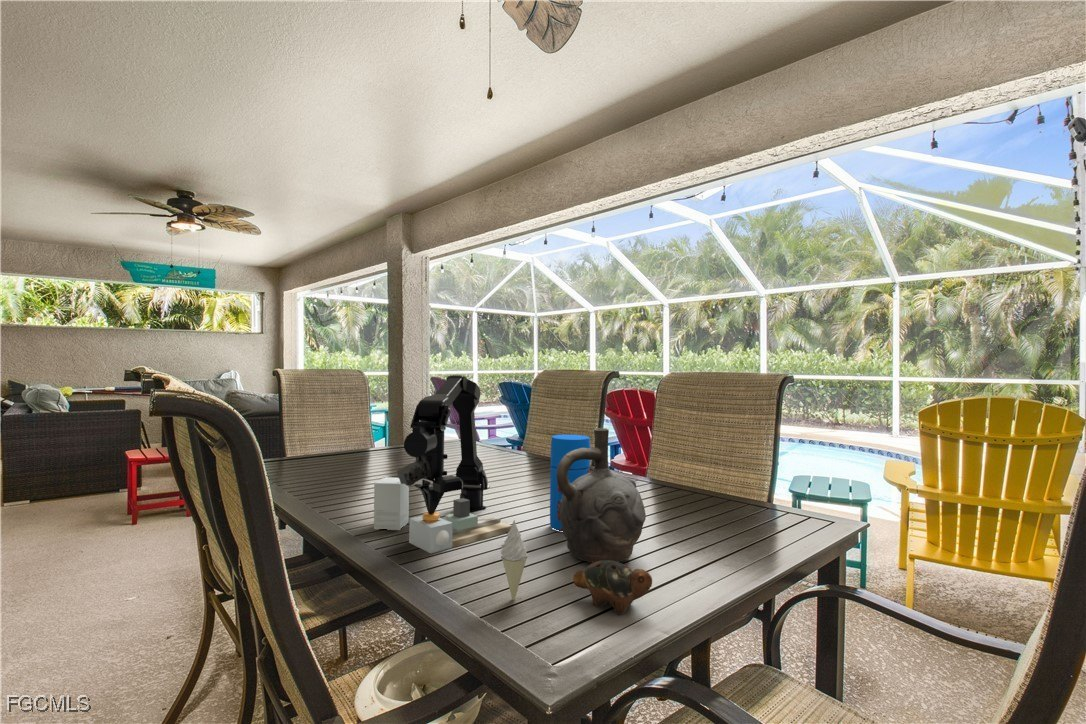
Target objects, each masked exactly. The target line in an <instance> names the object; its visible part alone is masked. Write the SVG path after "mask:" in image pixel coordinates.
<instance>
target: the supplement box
mask: <svg viewBox="0 0 1086 724" xmlns="http://www.w3.org/2000/svg"><path fill="white" fill-rule="evenodd" d="M373 485H374V486H373V487H374V488H373V491H374V492H373V499H374V500H373V502H374V503H373V529H374V530H379V529H387V530H386V531H401V530H402V529H403V528H404V527H405V526H406V525H408V524H409V523H410V518H409V512H410V511H409V510H410V509H409V508H410V507H409V505H410V504H409V501H410V500H409V499H410V491H409V488H410V486H407V485H406V484H401V483H400V480H399V477H389V476H388V477H387V476H385V477H383V478H381V479H380V480H377V481H376V482H374V483H373ZM407 523H408V524H407ZM403 526H404V527H403ZM402 527H403V528H402ZM401 528H402V529H401Z"/></svg>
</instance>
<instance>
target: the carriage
mask: <svg viewBox="0 0 1086 724" xmlns="http://www.w3.org/2000/svg"><path fill="white" fill-rule="evenodd" d="M444 519H445V520H447V521H449V522H452V523H453V529H456V530H458V531H459V530H463V529H467V528H471V527H475V526H478V520H479V516H478V515H477V514H475V513H474V514H473V513H471V512H470V500H467V499H464V498H461V499H460V498H457V499H453V510H452V513H450V514H446V515H444Z"/></svg>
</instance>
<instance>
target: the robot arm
mask: <svg viewBox="0 0 1086 724" xmlns="http://www.w3.org/2000/svg"><path fill="white" fill-rule="evenodd" d="M480 399H481V388H480V386H479V385H478V384H477V382H475V381H472V380H470V379H469V378H467V376H466V375H463V374H462V375H459V374H458V375H457V374H451V375H448V376H447V377H446V381H445V382H444V383H443V384H442V385H441V386H440V387H439V388H438V390H436V392H435V393H434V394H432V395H428V396H425V397H423V398H422V399H420V400H419V402H418V403H417V404H416V407H415V410H414V413H413V417H412V419H411V423H410V425H409V426H410V427H409V428H410V429H411V430H412V431H411V432H410V433H409V434H407V436H406V437H405V439H404V441H403V448H404V451H405V452H406V453H407V455H408V456H410V457H412V458H415V461H413V462H411V463H408V464H406V465H405V466H403V467H401V468H399V469H398V470H396V474H397V476H398V477H397V478H399V480H400V483H401V484H406V485H407V486H409V487H410V486H412V485H414V487H415V488H416V489H417V490H419V491H420V492H421V494H422V497H423V500H424V503H425V506H426V509H427V510H426V511H427V512H428V514H434V512H436V510H437V508H438V506H439V504H440V502H441V500H442V498H443V496H444V494H445V493H449V492H455V491H460V495H459V499H461V498H464V499H467V500H470V513H471V512H475V511H481V510H484V509H487V506H485V505H484V491H486V490H488V486H489V485H488V484H489V482H488V478H487V474H486V471H485V470H484V464H483V461H482V460H481V459H480V458H479V456H478V451H477V435H476V434H477V433H476V432H477V431H476V417H475V411H476V409H477V407H478V406H479V404H480ZM451 406H452V408H453V409H454V410H455V412H456V414H458V425H459V441H460V454H461V460H460V462H459V464H457V465H458V466H457V467H456V469H455V470H456V471H455V475H452V474H451V475H448V471H447V470H445V468H444V467H445V464H444V463H445V460H447V459H448V454H446V453H445V431H446V429H447V423H448V421H449V419H450V416H451V413H452V412H451V411H452V409H451ZM415 483H416V484H415Z"/></svg>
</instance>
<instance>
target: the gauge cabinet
mask: <svg viewBox="0 0 1086 724" xmlns="http://www.w3.org/2000/svg"><path fill="white" fill-rule="evenodd" d="M408 528H409V530H408V531H409V532H408V533H409V535H408V536H409V537H408V542H409V544H410V545H413V546H415V547H417V548H419V549H421V550H423V551H425V552H427V553H429V554H434V553H437V552H441V551H446V550H449V549H451V548H452V532H453V523H452V522H449V521H447V520H445V518H442V517H440V516H439V519H437V520H436V522H433V523H429V524H428V523H426V520H423V515H418V516H414V517H410V518H409V527H408Z"/></svg>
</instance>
